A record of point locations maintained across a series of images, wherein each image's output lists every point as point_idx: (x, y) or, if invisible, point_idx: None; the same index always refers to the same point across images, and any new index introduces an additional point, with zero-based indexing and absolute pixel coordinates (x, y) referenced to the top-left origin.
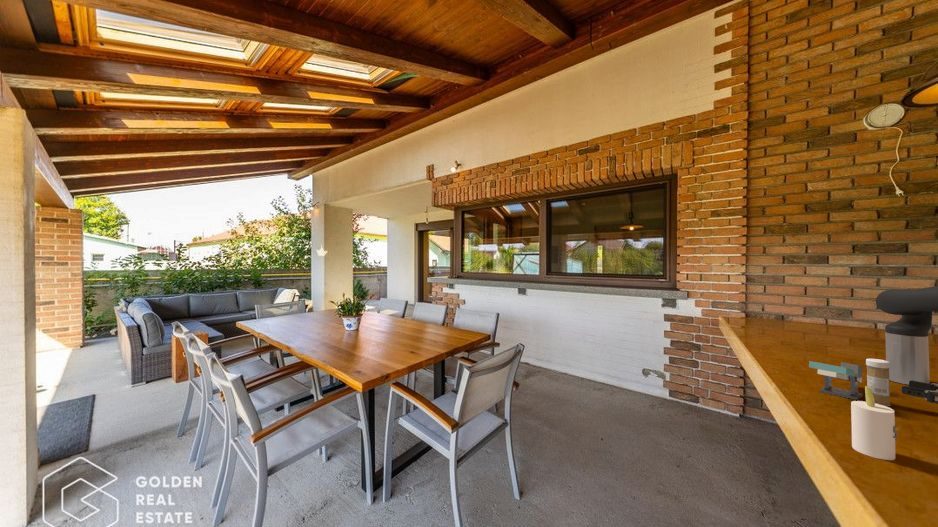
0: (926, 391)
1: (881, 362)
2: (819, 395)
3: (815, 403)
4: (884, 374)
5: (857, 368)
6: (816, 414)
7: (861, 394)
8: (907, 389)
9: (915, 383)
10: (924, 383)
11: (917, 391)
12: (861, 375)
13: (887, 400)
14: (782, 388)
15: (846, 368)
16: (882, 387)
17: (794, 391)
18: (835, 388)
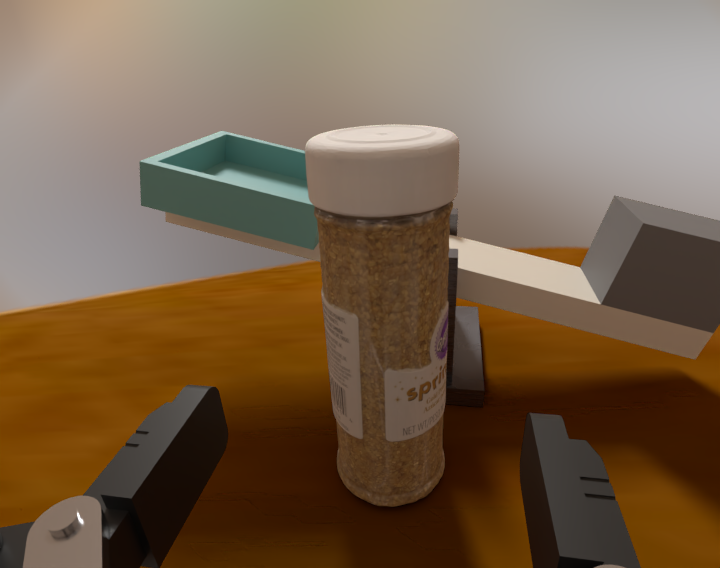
0: (46, 514)
1: (309, 145)
2: (317, 320)
3: (174, 325)
4: (330, 267)
5: (631, 246)
6: (12, 339)
7: (461, 390)
8: (150, 419)
9: (533, 461)
10: (547, 507)
11: (105, 471)
12: (704, 312)
13: (357, 463)
14: (316, 265)
15: (141, 166)
16: (329, 364)
17: (305, 282)
18: (457, 325)
